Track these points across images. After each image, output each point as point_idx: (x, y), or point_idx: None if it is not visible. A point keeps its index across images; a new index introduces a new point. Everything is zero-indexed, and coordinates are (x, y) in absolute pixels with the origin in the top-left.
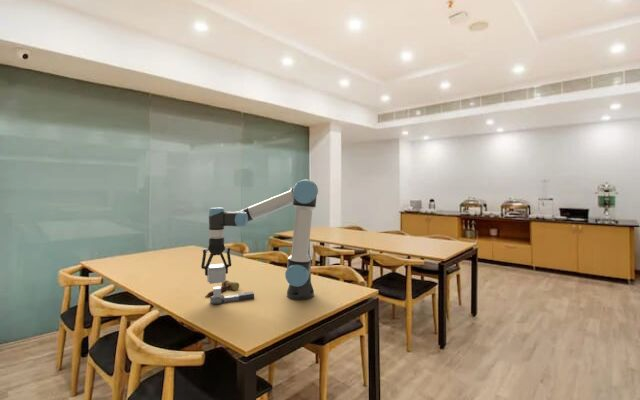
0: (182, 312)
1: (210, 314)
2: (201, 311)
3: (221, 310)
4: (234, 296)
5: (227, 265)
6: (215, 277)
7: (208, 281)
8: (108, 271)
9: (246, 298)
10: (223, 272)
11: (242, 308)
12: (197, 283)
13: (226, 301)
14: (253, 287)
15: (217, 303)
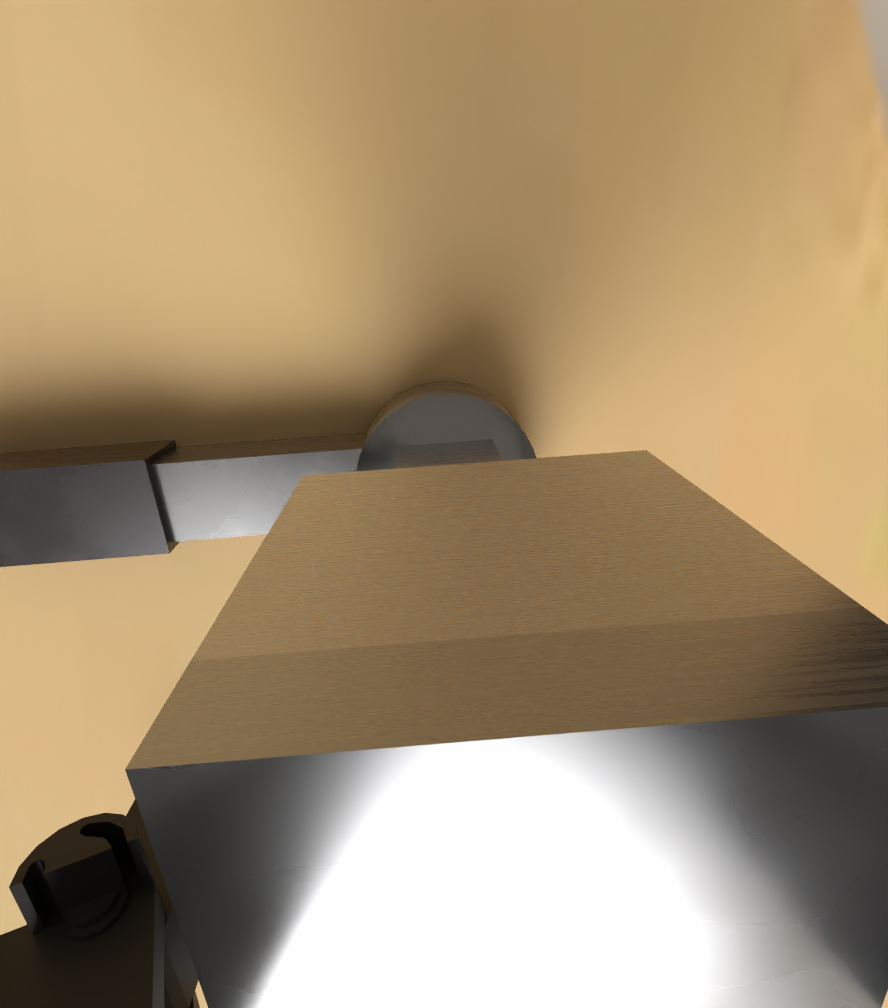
0: (862, 266)
1: (559, 33)
2: (654, 212)
3: (405, 146)
4: (216, 473)
5: (25, 977)
6: (546, 507)
7: None
8: None
9: (68, 451)
10: (283, 596)
11: (106, 110)
12: None
13: (333, 437)
14: (32, 809)
15: (446, 385)
